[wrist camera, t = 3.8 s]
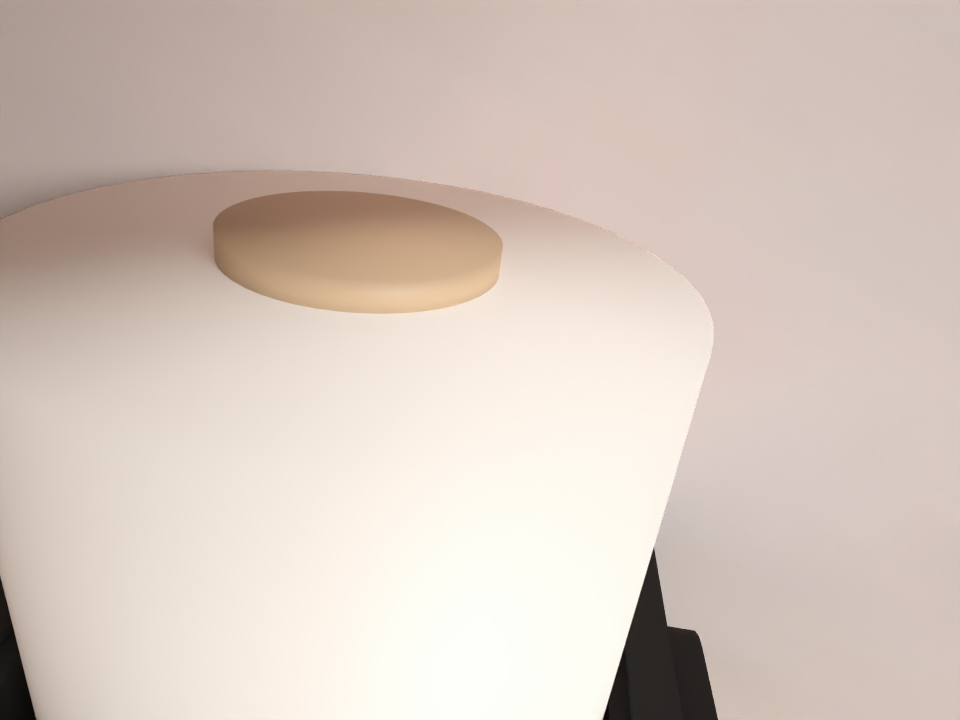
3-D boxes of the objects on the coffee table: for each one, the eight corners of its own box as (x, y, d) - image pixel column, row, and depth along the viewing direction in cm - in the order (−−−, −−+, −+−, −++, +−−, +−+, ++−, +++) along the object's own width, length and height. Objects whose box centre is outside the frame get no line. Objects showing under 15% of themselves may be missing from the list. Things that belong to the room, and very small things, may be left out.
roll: (196, 126, 9) (-384, 302, 4) (676, 198, 9) (829, 513, 3) (232, 726, 14) (18, 1162, 9) (532, 787, 14) (498, 1282, 8)
